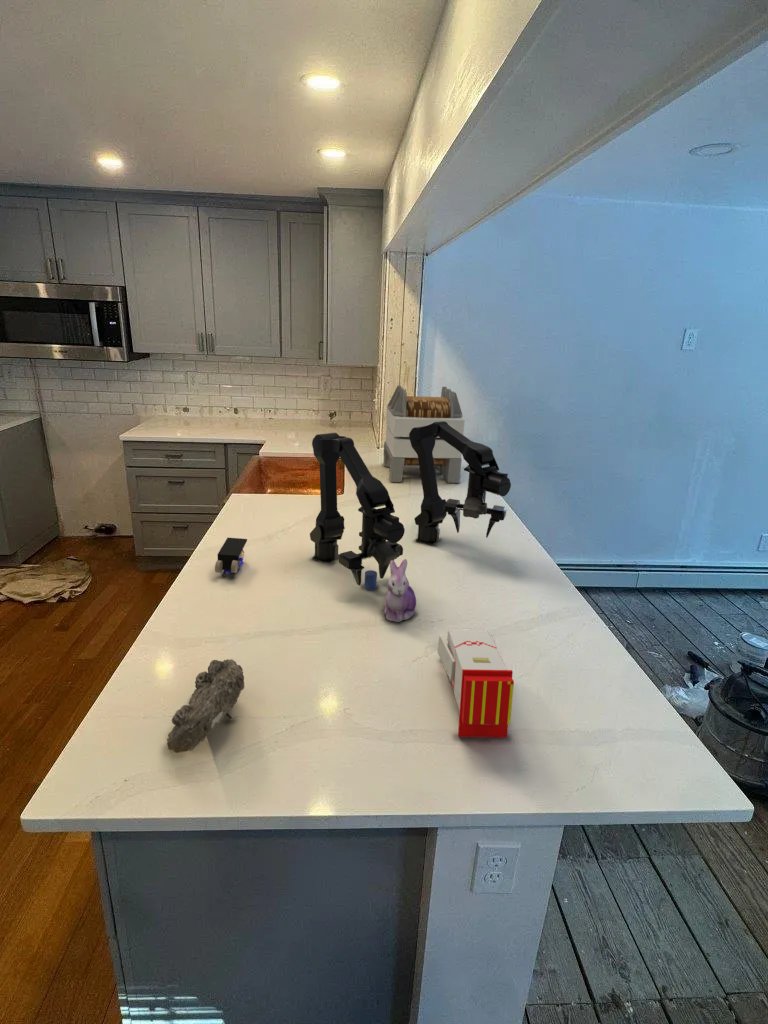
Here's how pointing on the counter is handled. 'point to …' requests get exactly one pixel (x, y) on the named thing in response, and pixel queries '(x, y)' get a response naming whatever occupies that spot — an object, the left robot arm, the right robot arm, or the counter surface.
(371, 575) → the canister
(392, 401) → the grey crate with roll
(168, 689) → the counter surface
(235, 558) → the black wheeled cart
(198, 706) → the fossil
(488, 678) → the toy
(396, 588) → the figurine
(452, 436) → the right robot arm
